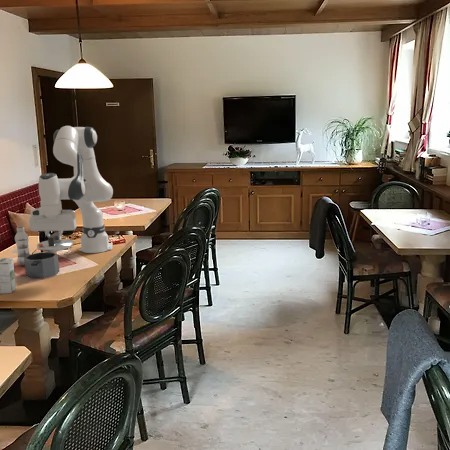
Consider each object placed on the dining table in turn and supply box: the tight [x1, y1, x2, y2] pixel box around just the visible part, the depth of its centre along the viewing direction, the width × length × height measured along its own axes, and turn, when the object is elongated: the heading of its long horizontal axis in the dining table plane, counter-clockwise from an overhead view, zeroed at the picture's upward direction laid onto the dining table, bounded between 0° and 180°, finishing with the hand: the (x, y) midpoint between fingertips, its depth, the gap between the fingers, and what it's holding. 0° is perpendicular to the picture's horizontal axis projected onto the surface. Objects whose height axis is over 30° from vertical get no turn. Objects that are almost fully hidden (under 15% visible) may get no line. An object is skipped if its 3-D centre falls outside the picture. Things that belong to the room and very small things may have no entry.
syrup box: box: [0, 257, 17, 294], centre depth 222 cm, size 6×6×14 cm
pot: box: [24, 251, 60, 280], centre depth 246 cm, size 20×14×9 cm
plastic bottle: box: [14, 226, 31, 266], centre depth 261 cm, size 6×7×20 cm
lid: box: [36, 231, 74, 253], centre depth 230 cm, size 16×16×6 cm
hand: (54, 240), depth 230 cm, fingers closed on lid, 2 cm apart
